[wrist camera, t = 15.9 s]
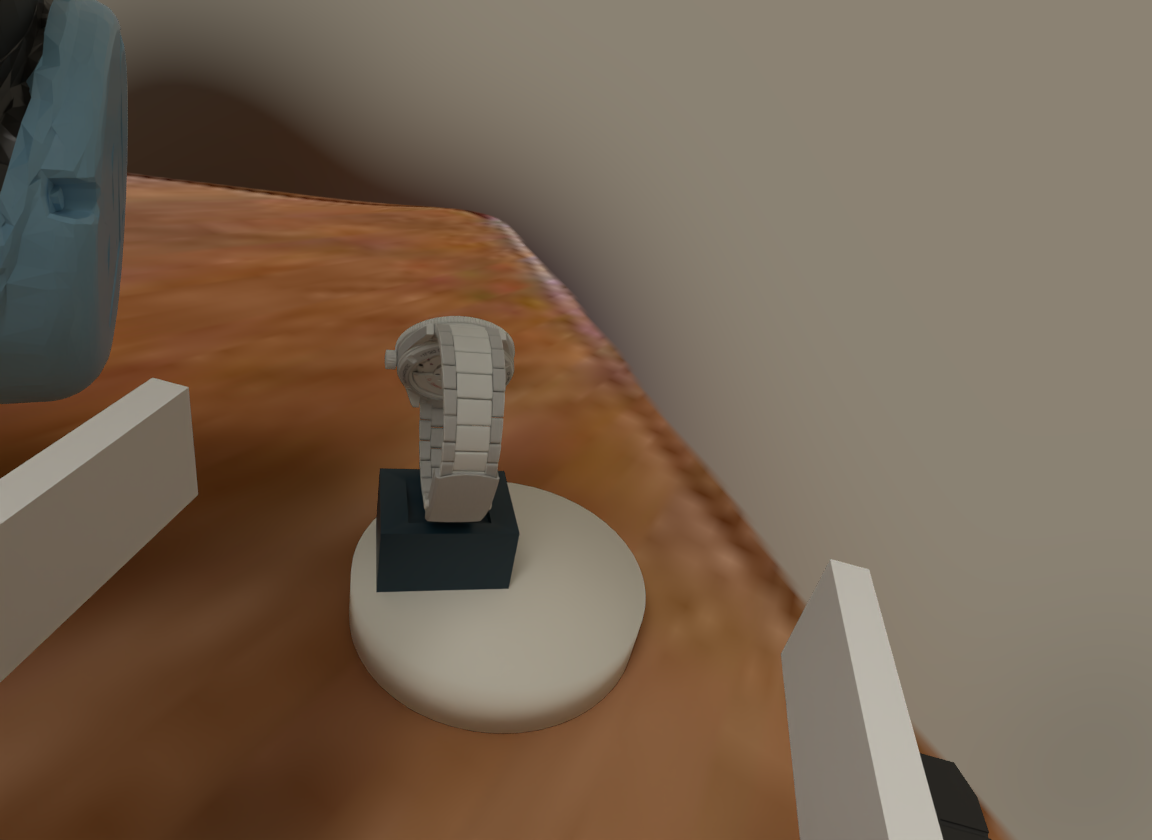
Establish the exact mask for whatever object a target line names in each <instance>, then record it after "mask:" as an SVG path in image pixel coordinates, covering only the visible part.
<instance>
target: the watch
mask: <svg viewBox="0 0 1152 840" xmlns="http://www.w3.org/2000/svg"><path fill="white" fill-rule="evenodd" d="M514 354H515V349H514V343H513V340H512V338H511V337H510V336H509V335H508V333H507V332H505V330H503V329H501V327H499V326H497V325H495V324H492V323H490V322H487V321H484V320H481V319H478V318H472V317H465V316H464V317H462V316H447V317H438V318H434V319H429V320H425V321H422V322H420V323H417V324H415V325H414V326H412V327H410V328H408V330H406V331H404V333H402V334H401V336H400V337H399V339H398V341H397V343H396V346H395V350H386V354H385V368H386V369H395V368H396V366H397V374H398V377H399V379H400V381H401V382H402V384H403V385H404V386H405V388H406V391H407V393H408V397H409V400H410V403H411V405H412V407H419V403H420V419H424V420H419V439H420V440H425V441H419V455H420V463H419V464H420V469H380V474H379V488H378V502H377V517H376V592H406V591H443V590H480V589H509V584H510V579H511V574H512V569H513V564H514V559H515V554H516V549H517V544H518V539H519V534H520V533H519V529H518V525H517V521H516V517H515V513H514V509H513V505H512V501H511V497H510V493H509V489H508V485H507V481H506V477H505V473H504V471H498V470H497V468H498V462H499V456H500V450H501V444H500V443H501V439H502V429H503V418H491V417H503V416H504V401H505V393H504V392H505V387H506V386H507V384H508V383H509V382H510V380H511V378H512V376H513V373H514ZM490 400H491V401H490ZM472 425H475V426H472ZM487 426H490V427H487ZM431 427H443V428H431ZM429 440H430V441H429ZM489 442H490V443H489ZM430 448H431V449H430ZM432 448H442V449H432Z"/></svg>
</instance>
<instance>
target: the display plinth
mask: <svg viewBox="0 0 1152 840" xmlns="http://www.w3.org/2000/svg"><path fill="white" fill-rule="evenodd" d="M507 485H508V489H509V493H510V497H511V501H512V505H513V509H514V513H515V517H516V521H517V525H518V529H519V533H520V534H519V539H518V544H517V549H516V554H515V559H514V564H513V569H512V574H511V579H510V584H509V589H480V590H443V591H406V592H376V518H375V519H374V520H373V521H372V523H371V524H370V525H369V526H368V528H367V529H366V530H365V531H364V533H363V535H362V537H361V538H360V540H359V542H358V544H357V547H356V550H355V553H354V556H353V561H352V568H351V583H350V603H349V624H350V631H351V636H352V640H353V644H354V646H355V648H356V651H357V653H358V656H359V658H360V660H361V661H362V663H363V664H364V666H365V667H366V669H367V671H368V672H369V673H370V675H371V676H372V677H373V678H374V679H375V680H376V682H377V683H378V684H379V685H380V686H381V687H382V688H383V689H384V690H385V691H387V692H388V693H389V694H390V695H391V696H392V697H394V698H395V699H396V700H398V701H399V702H401V703H402V704H404V705H405V706H407V707H408V708H410V709H411V710H413V711H415V712H417V713H419V714H421V715H423V716H425V717H427V718H429V719H432V720H434V721H437V722H440V723H443V724H446V725H449V726H452V727H456V728H461V729H465V730H470V731H475V732H486V733H522V732H529V731H536V730H541V729H544V728H548V727H552V726H556V725H559V724H561V723H564V722H566V721H568V720H571V719H573V718H576V717H577V716H579V715H581V714H582V713H584V712H586V711H588V710H589V709H591V708H592V707H594V706H595V705H596V704H597V703H598V702H600V701H601V700H602V699H603V698H605V697H606V695H607V694H608V693H609V692H610V691H611V690H612V689H613V688H614V687H615V685H616V684H617V682H618V681H619V679H620V678H621V676H622V674H623V673H624V671H625V668H626V666H627V663H628V661H629V658H630V655H631V652H632V649H633V646H634V643H635V640H636V638H637V635H638V632H639V629H640V626H641V623H642V620H643V615H644V610H645V598H646V592H645V586H644V580H643V576H642V573H641V570H640V567H639V565H638V563H637V561H636V559H635V557H634V555H633V554H632V552H631V551H630V549H629V548H628V546H627V545H626V543H625V542H624V541H623V540H622V539H621V538H620V537H619V535H618V534H617V533H616V532H615V531H614V530H613V529H612V528H611V527H609V526H608V525H607V524H606V523H605V522H604V521H602V520H601V519H600V518H598V517H597V516H596V515H594V514H593V513H592V512H590V511H588V510H587V509H585V508H583V507H582V506H580V505H578V504H576V503H574V502H572V501H570V500H568V499H566V498H564V497H561V496H559V495H556V494H553V493H551V492H548V491H545V490H541V489H538V488H535V487H530V486H526V485H521V484H515V483H508V482H507Z"/></svg>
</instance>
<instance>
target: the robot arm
mask: <svg viewBox="0 0 1152 840" xmlns="http://www.w3.org/2000/svg"><path fill="white" fill-rule="evenodd" d="M120 30H121V28H120V25H119V21H118V19H117V17H116V16H115V15H114V13H113V12H112V11H111V9H110V8H108V7H107V6H105V5H104V4H102V3H100V2H98V1H96V0H0V404H11V403H28V402H46V401H55V400H60V399H64V398H67V397H70V396H73V395H75V394H77V393H79V392H80V391H82V390H84V389H85V388H87V387H88V386H89V385H90V384H91V383H92V382H93V381H94V380H95V379H96V378H97V377H98V376H99V375H100V373H101V371H102V370H103V368H104V366H105V364H106V362H107V360H108V357H109V354H110V350H111V346H112V342H113V335H114V329H115V323H116V316H117V309H118V300H119V291H120V280H121V269H122V256H123V242H124V226H125V206H126V180H127V140H128V138H127V137H128V114H127V113H128V110H127V109H128V100H127V73H126V72H127V71H126V57H125V49H124V44H123V41H122V37H121V35H120ZM197 495H198V487H197V475H196V464H195V453H194V442H193V431H192V420H191V409H190V397H189V387H186V386H182V385H178V384H174V383H171V382H167V381H163V380H159V379H156V378H151V379H150V380H148V381H147V382H145V383H144V384H142V385H141V386H139V387H138V388H136V389H135V390H133V391H132V392H130V393H129V394H127V395H126V396H124V397H123V398H121V399H120V400H118V401H117V402H115V403H114V404H112V405H111V406H109V407H108V408H106V409H105V410H103V411H102V412H100V413H99V414H97V415H96V416H94V417H93V418H91V419H90V420H88V421H87V422H85V423H84V424H82V425H80V426H79V427H77V428H76V429H74V430H73V431H71V432H70V433H68V434H67V435H65V436H64V437H62V438H61V439H59V440H58V441H56V442H55V443H53V444H52V445H50V446H49V447H47V448H46V449H44V450H43V451H41V452H40V453H38V454H37V455H35V456H34V457H32V458H31V459H29V460H28V461H26V462H25V463H23V464H22V465H20V466H19V467H17V468H16V469H14V470H13V471H11V472H10V473H8V474H7V475H5V476H4V477H2V478H1V479H0V682H1V681H2V680H3V679H5V678H6V677H7V676H8V675H9V674H10V673H11V672H12V671H13V670H14V669H15V668H16V667H17V666H18V665H19V664H20V663H21V662H22V661H23V660H25V659H26V658H27V657H28V656H29V655H30V654H31V653H32V652H33V651H34V650H35V649H36V648H37V647H38V646H39V645H40V644H41V643H42V642H44V641H45V640H46V639H47V638H48V637H49V636H50V635H51V634H52V633H53V632H54V631H55V630H56V629H57V628H58V627H59V626H60V625H61V624H62V623H64V622H65V621H66V620H67V619H68V618H69V617H70V616H71V615H72V614H73V613H74V612H75V611H76V610H77V609H78V608H79V607H80V606H81V605H82V604H84V603H85V602H86V601H87V600H88V599H89V598H90V597H91V596H92V595H93V594H94V593H95V592H96V591H97V590H98V589H99V588H100V587H101V586H103V585H104V584H105V583H106V582H107V581H108V580H109V579H110V578H111V577H112V576H113V575H114V574H115V573H116V572H117V571H118V570H119V569H120V568H121V567H123V566H124V565H125V564H126V563H127V562H128V561H129V560H130V559H131V558H132V557H133V556H134V555H135V554H136V553H137V552H138V551H139V550H140V549H141V548H143V547H144V546H145V545H146V544H147V543H148V542H149V541H150V540H151V539H152V538H153V537H154V536H155V535H156V534H157V533H158V532H159V531H160V530H161V529H163V528H164V527H165V526H166V525H167V524H168V523H169V522H170V521H171V520H172V519H173V518H174V517H175V516H176V515H177V514H178V513H179V512H180V511H182V510H183V509H184V508H185V507H186V506H187V505H188V504H189V503H190V502H191V501H192V500H193V499H194V498H195V497H196V496H197ZM781 659H782V668H783V678H784V688H785V697H786V707H787V717H788V727H789V736H790V746H791V756H792V766H793V775H794V785H795V795H796V804H797V814H798V824H799V834H800V840H991V839H989V838H988V833H989V831H988V828H987V825H986V822H985V819H984V816H983V813H982V810H981V807H980V804H979V801H978V798H977V796H976V795H975V793H974V792H973V790H972V789H971V787H970V786H969V784H968V783H967V781H966V780H965V778H964V777H963V775H962V774H961V773H960V771H959V769H958V768H957V766H956V765H955V764H954V763H953V762H950V761H946V760H943V759H939V758H935V757H932V756H928V755H924V754H921V753H919V750H918V746H917V742H916V739H915V735H914V731H913V728H912V724H911V720H910V717H909V713H908V709H907V706H906V702H905V699H904V695H903V691H902V688H901V684H900V680H899V677H898V673H897V669H896V666H895V662H894V658H893V655H892V651H891V648H890V644H889V640H888V637H887V633H886V629H885V626H884V622H883V618H882V615H881V611H880V607H879V604H878V600H877V596H876V593H875V589H874V585H873V582H872V578H871V575H870V571H869V569H866V568H862V567H858V566H854V565H851V564H847V563H843V562H840V561H836V560H832V559H830V560H829V562H828V564H827V566H826V568H825V570H824V572H823V574H822V576H821V578H820V580H819V582H818V584H817V585H816V588H815V590H814V591H813V593H812V595H811V597H810V599H809V601H808V603H807V605H806V607H805V609H804V611H803V612H802V614H801V616H800V618H799V620H798V622H797V624H796V626H795V628H794V630H793V632H792V634H791V636H790V638H789V640H788V641H787V643H786V645H785V647H784V649H783V651H782V653H781Z"/></svg>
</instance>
